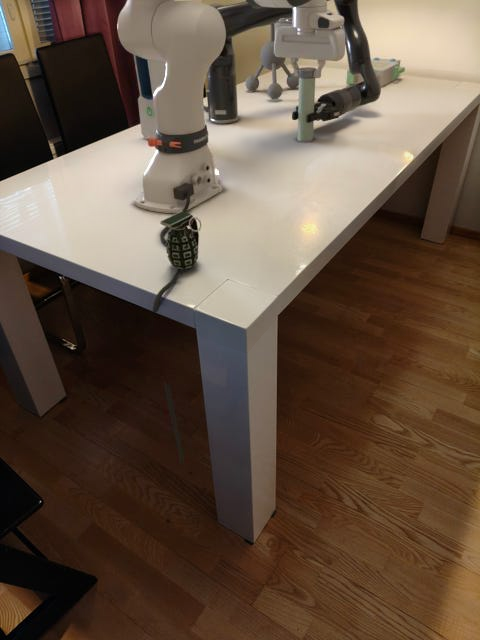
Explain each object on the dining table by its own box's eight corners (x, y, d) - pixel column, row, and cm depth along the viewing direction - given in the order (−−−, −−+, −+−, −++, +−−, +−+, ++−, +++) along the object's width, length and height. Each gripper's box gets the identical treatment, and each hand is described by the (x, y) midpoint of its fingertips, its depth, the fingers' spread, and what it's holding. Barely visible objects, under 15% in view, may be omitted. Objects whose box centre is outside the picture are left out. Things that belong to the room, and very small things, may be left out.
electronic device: (141, 137, 154) (123, 28, 136) (159, 131, 158) (144, 24, 140) (166, 145, 147) (151, 30, 129) (185, 138, 151) (172, 26, 133)
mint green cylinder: (314, 140, 144) (318, 71, 133) (300, 142, 144) (302, 73, 132) (309, 136, 148) (312, 68, 137) (295, 137, 147) (297, 70, 136)
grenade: (182, 278, 88) (175, 228, 82) (162, 268, 91) (153, 219, 85) (208, 263, 92) (203, 214, 85) (187, 253, 95) (181, 205, 89)
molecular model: (318, 92, 188) (323, -1, 170) (273, 103, 179) (272, 6, 161) (281, 82, 204) (281, -3, 186) (237, 91, 195) (233, 3, 176)
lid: (319, 75, 134) (320, 69, 133) (304, 78, 133) (305, 71, 132) (309, 73, 138) (309, 66, 137) (295, 75, 136) (295, 69, 135)
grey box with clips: (365, 55, 208) (411, 58, 198) (363, 72, 212) (408, 76, 202) (337, 67, 192) (386, 71, 182) (336, 85, 196) (383, 90, 186)
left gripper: (269, 19, 130) (269, 76, 138) (339, 21, 120) (335, 82, 128) (281, 16, 134) (281, 71, 142) (350, 18, 124) (345, 77, 132)
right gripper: (316, 88, 151) (281, 100, 142) (355, 94, 143) (321, 107, 134) (315, 113, 156) (280, 126, 146) (353, 120, 148) (319, 135, 138)
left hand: (307, 76), depth 135 cm, fingers closed on lid, 5 cm apart
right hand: (300, 117), depth 140 cm, fingers closed on mint green cylinder, 4 cm apart
